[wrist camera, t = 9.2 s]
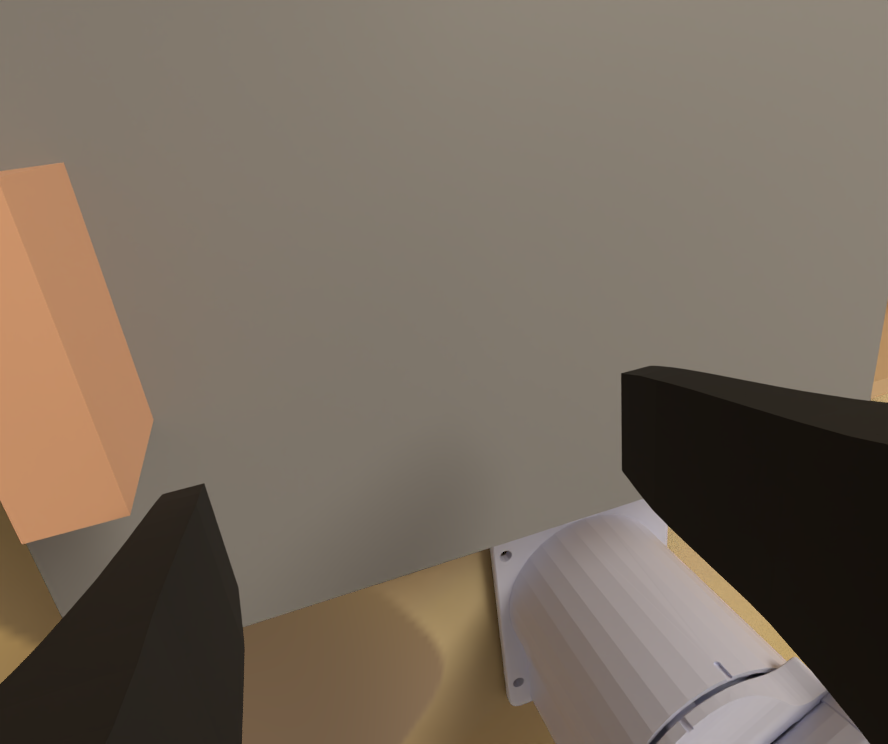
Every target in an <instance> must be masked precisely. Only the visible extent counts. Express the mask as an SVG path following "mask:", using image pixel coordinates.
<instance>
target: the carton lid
mask: <svg viewBox="0 0 888 744" xmlns="http://www.w3.org/2000/svg"><path fill="white" fill-rule="evenodd" d="M887 301H888V0H0V501H1V503H2V505H3V507H4V509H5V511H6V513H7V515H8V517H9V519H10V521H11V523H12V525H13V527H14V530H15V532H16V534H17V536H18V538H19V540H20V542H21V544H26V545H27V547H28V549H29V551H30V553H31V555H32V557H33V559H34V561H35V563H36V565H37V567H38V569H39V571H40V573H41V576H42V578H43V580H44V582H45V584H46V586H47V588H48V590H49V592H50V594H51V596H52V598H53V600H54V602H55V604H56V606H57V608H58V610H59V612H60V615H61V617H62V618H63V617H64V616H65V615H66V614H67V613H68V611H69V610H70V609H71V608H72V607H73V606H74V604H75V603H76V602H77V601H78V600H79V599H80V598H81V596H82V595H83V594H84V593H85V592H86V591H87V589H88V588H89V587H90V586H91V585H92V584H93V583H94V581H95V580H96V579H97V578H98V576H99V575H100V574H101V573H102V571H103V570H104V569H105V567H106V566H107V565H108V564H109V562H110V561H111V560H112V558H113V557H114V556H115V555H116V553H117V552H118V551H119V550H120V548H121V547H122V546H123V544H124V543H125V542H126V541H127V539H128V538H129V537H130V535H131V534H132V533H133V531H134V530H135V529H136V527H137V526H138V525H139V523H140V522H141V521H142V519H143V518H144V517H145V515H146V514H147V513H148V511H149V510H150V509H151V507H152V506H153V505H154V503H155V502H156V501H157V500H158V499H159V497H160V496H161V495H162V494H165V493H169V492H173V491H176V490H180V489H184V488H188V487H192V486H195V485H199V484H203V483H204V484H205V487H206V490H207V493H208V496H209V499H210V502H211V505H212V508H213V511H214V514H215V517H216V520H217V524H218V527H219V530H220V533H221V536H222V539H223V542H224V545H225V548H226V551H227V554H228V557H229V560H230V563H231V566H232V569H233V572H234V575H235V578H236V582H237V585H238V588H239V597H240V606H241V615H242V625H243V627H246V626H249V625H252V624H255V623H258V622H261V621H264V620H267V619H271V618H274V617H277V616H280V615H283V614H286V613H289V612H292V611H295V610H299V609H302V608H305V607H308V606H311V605H314V604H317V603H320V602H323V601H326V600H330V599H333V598H336V597H339V596H342V595H345V594H348V593H351V592H355V591H358V590H361V589H364V588H367V587H370V586H373V585H376V584H379V583H383V582H386V581H389V580H392V579H395V578H398V577H401V576H404V575H407V574H411V573H414V572H417V571H420V570H423V569H426V568H429V567H432V566H435V565H439V564H442V563H445V562H448V561H451V560H454V559H457V558H460V557H463V556H467V555H470V554H473V553H476V552H479V551H482V550H485V549H488V548H491V547H495V546H498V545H501V544H504V543H507V542H510V541H513V540H516V539H520V538H523V537H526V536H529V535H532V534H535V533H538V532H541V531H544V530H548V529H551V528H554V527H557V526H560V525H563V524H566V523H569V522H572V521H576V520H579V519H582V518H585V517H588V516H591V515H594V514H597V513H600V512H604V511H607V510H610V509H613V508H616V507H619V506H622V505H625V504H628V503H632V502H635V501H638V500H641V499H643V498H642V496H641V495H640V494H639V493H638V491H637V490H636V489H635V487H634V486H633V485H632V483H631V482H630V481H629V479H628V478H627V477H626V475H625V474H624V473H623V471H622V431H621V373H624V372H628V371H632V370H636V369H639V368H643V367H647V366H666V367H674V368H681V369H688V370H694V371H699V372H705V373H710V374H716V375H721V376H726V377H731V378H736V379H742V380H747V381H752V382H757V383H762V384H768V385H773V386H778V387H784V388H789V389H795V390H801V391H806V392H813V393H819V394H826V395H832V396H839V397H845V398H852V399H859V400H867V401H870V399H871V393H872V388H873V382H874V376H875V370H876V364H877V359H878V353H879V347H880V341H881V335H882V330H883V324H884V318H885V312H886V306H887Z"/></svg>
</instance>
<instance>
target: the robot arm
mask: <svg viewBox="0 0 888 744" xmlns="http://www.w3.org/2000/svg"><path fill="white" fill-rule="evenodd" d="M621 431H622V471H623V473H624V474H625V475H626V477H627V478H628V479H629V481H630V482H631V483H632V485H633V486H634V487H635V489H636V490H637V491H638V493H639V494H640V495H641V496H642V498H643V499H641V500H638V501H635V502H632V503H628V504H625V505H622V506H619V507H616V508H613V509H610V510H607V511H604V512H600V513H597V514H594V515H591V516H588V517H585V518H582V519H579V520H576V521H572V522H569V523H566V524H563V525H560V526H557V527H554V528H551V529H548V530H544V531H541V532H538V533H535V534H532V535H529V536H526V537H523V538H520V539H516V540H513V541H510V542H507V543H504V544H501V545H498V546H495V547H491V548H490V553H491V562H492V571H493V579H494V588H495V597H496V606H497V614H498V623H499V632H500V641H501V649H502V658H503V667H504V676H505V685H506V693H507V698H508V700H509V702H510V704H511V705H513V706H520V705H523V704H526V703H528V702H531V701H533V702H534V704H535V706H536V708H537V710H538V712H539V714H540V715H541V717H542V719H543V721H544V723H545V725H546V727H547V729H548V730H549V732H550V734H551V736H552V738H553V740H554V742H555V744H888V403H885V402H875V401H867V400H859V399H852V398H845V397H839V396H832V395H826V394H819V393H813V392H806V391H801V390H795V389H789V388H784V387H778V386H773V385H768V384H762V383H757V382H752V381H747V380H742V379H736V378H731V377H726V376H721V375H716V374H710V373H705V372H699V371H694V370H688V369H681V368H674V367H666V366H647V367H643V368H639V369H636V370H632V371H628V372H624V373H621ZM668 526H669V527H670V528H671V529H672V530H673V531H674V532H675V533H676V534H677V535H678V536H679V537H680V538H682V539H683V540H684V541H685V542H686V543H687V544H688V545H689V546H690V547H691V548H692V549H693V550H694V551H695V552H696V553H697V554H698V555H700V556H701V557H702V558H703V559H704V560H705V561H706V562H707V563H708V564H709V565H710V566H711V567H712V568H713V569H714V570H715V571H717V572H718V573H719V574H720V575H721V576H722V577H723V578H724V579H725V580H726V581H727V582H728V583H729V584H730V585H731V586H733V587H734V588H735V589H736V590H737V591H738V592H739V593H740V594H741V595H742V596H743V597H744V598H745V599H746V600H747V601H748V602H749V603H750V604H751V605H752V606H753V607H754V608H755V609H756V610H757V611H758V612H759V613H760V614H761V615H762V616H763V617H764V618H765V619H766V620H767V621H768V622H769V623H770V624H771V625H772V626H773V628H774V629H775V630H776V631H777V632H778V633H779V635H780V636H781V637H782V638H783V639H784V640H785V641H786V643H787V644H788V645H789V646H790V647H791V648H792V649H793V651H794V652H795V653H796V654H797V655H798V656H799V657H800V659H801V660H802V661H803V662H804V663H805V664H806V665H804V664H803V663H802V662H801V661H800V660H799V659H798V658H797V657H792V658H791V659H790V660H788V661H786V660H785V659H784V658H783V657H782V656H781V655H780V654H779V653H778V652H776V651H775V650H774V649H773V648H772V647H771V646H770V645H769V644H768V643H767V642H766V641H765V640H764V639H763V638H762V637H761V636H760V635H759V634H758V633H757V632H756V631H754V630H753V629H752V628H751V627H750V626H749V625H748V624H747V623H746V622H745V621H744V620H743V619H742V618H741V617H740V616H739V615H738V614H737V613H736V612H735V611H734V610H733V609H731V608H730V607H729V606H728V605H727V604H726V603H725V602H724V601H723V600H722V599H721V598H720V597H719V596H718V595H717V594H716V593H715V592H714V591H713V590H712V589H711V588H709V587H708V586H707V585H706V584H705V583H704V582H703V581H702V580H701V579H700V578H699V577H698V576H697V575H696V574H695V573H694V572H693V571H692V570H691V569H690V568H689V567H687V566H686V565H685V564H684V563H683V562H682V561H681V560H680V559H679V558H678V557H677V556H676V555H675V554H674V553H673V552H672V551H671V550H670V549H669V548H668V547H667V530H668ZM504 551H507V552H506V554H504V555H503V556H500V555H501V553H502V552H504ZM243 686H244V636H243V625H242V615H241V606H240V597H239V588H238V585H237V582H236V578H235V575H234V572H233V569H232V566H231V563H230V560H229V557H228V554H227V551H226V548H225V545H224V542H223V539H222V536H221V533H220V530H219V527H218V524H217V520H216V517H215V514H214V511H213V508H212V505H211V502H210V499H209V496H208V493H207V490H206V487H205V484H204V483H203V484H199V485H195V486H192V487H188V488H184V489H180V490H176V491H173V492H169V493H165V494H162V495H161V496H160V497H159V499H158V500H157V501H156V502H155V503H154V505H153V506H152V507H151V509H150V510H149V511H148V513H147V514H146V515H145V517H144V518H143V519H142V521H141V522H140V523H139V525H138V526H137V527H136V529H135V530H134V531H133V533H132V534H131V535H130V537H129V538H128V539H127V541H126V542H125V543H124V544H123V546H122V547H121V548H120V550H119V551H118V552H117V553H116V555H115V556H114V557H113V558H112V560H111V561H110V562H109V564H108V565H107V566H106V567H105V569H104V570H103V571H102V573H101V574H100V575H99V576H98V578H97V579H96V580H95V581H94V583H93V584H92V585H91V586H90V587H89V588H88V589H87V591H86V592H85V593H84V594H83V595H82V596H81V598H80V599H79V600H78V601H77V602H76V603H75V604H74V606H73V607H72V608H71V609H70V610H69V611H68V613H67V614H66V615H65V616H64V617H63V618H62V619H61V621H60V622H59V623H58V624H57V625H56V626H55V628H54V629H53V630H52V631H51V632H50V633H49V634H48V636H47V637H46V638H45V639H44V640H43V641H42V642H41V643H40V644H39V645H38V646H37V647H36V648H35V650H34V651H33V652H32V653H31V654H30V655H29V656H28V657H27V658H26V659H25V660H24V661H23V662H22V663H21V664H20V665H19V666H18V667H17V668H16V669H15V670H14V671H13V672H12V673H11V674H10V675H9V676H8V677H7V678H6V679H5V680H4V681H3V682H2V683H1V684H0V744H242V717H243Z"/></svg>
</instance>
